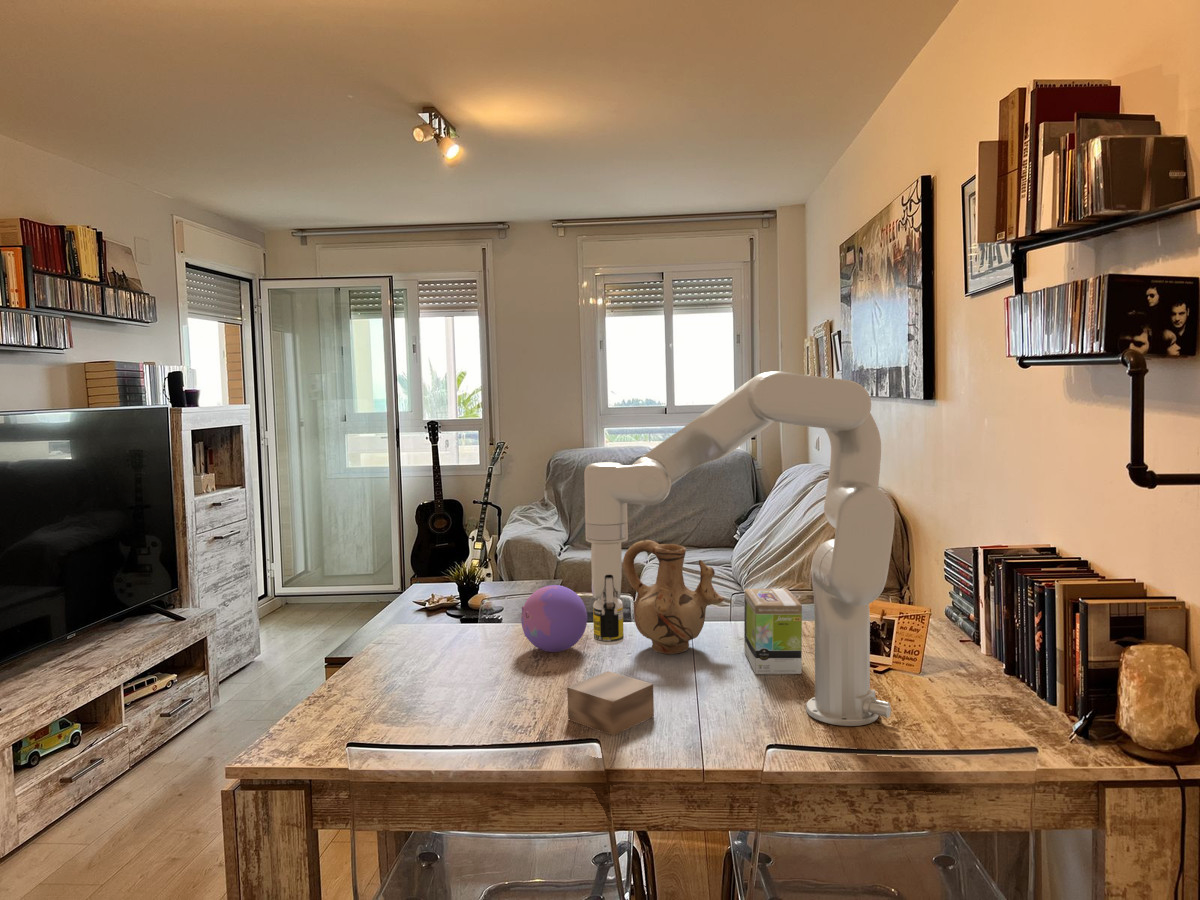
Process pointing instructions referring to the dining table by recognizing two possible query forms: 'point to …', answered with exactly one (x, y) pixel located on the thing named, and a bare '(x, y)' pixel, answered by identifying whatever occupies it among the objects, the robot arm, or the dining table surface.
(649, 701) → the walnut block
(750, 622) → the tea box
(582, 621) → the decorative ball
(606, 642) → the supplement bottle
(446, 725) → the dining table surface
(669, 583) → the ceramic vessel
